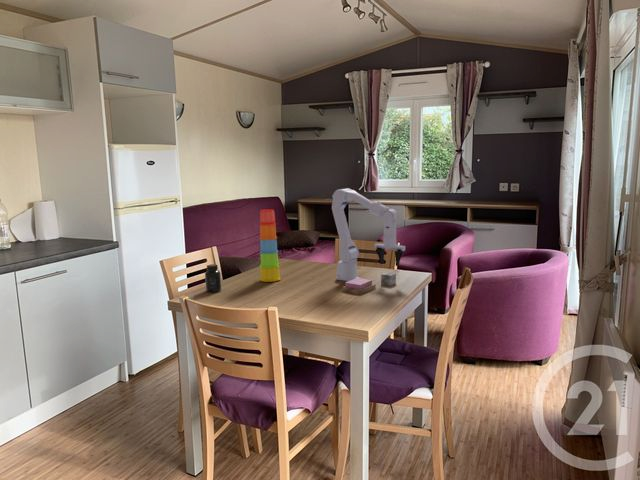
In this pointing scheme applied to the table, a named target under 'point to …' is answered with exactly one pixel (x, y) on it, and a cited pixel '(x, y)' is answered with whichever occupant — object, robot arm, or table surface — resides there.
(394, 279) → the slate cube
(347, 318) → the table surface
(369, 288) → the walnut base block
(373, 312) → the table surface
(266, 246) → the stacking cups
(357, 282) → the plum top block
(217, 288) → the supplement bottle
